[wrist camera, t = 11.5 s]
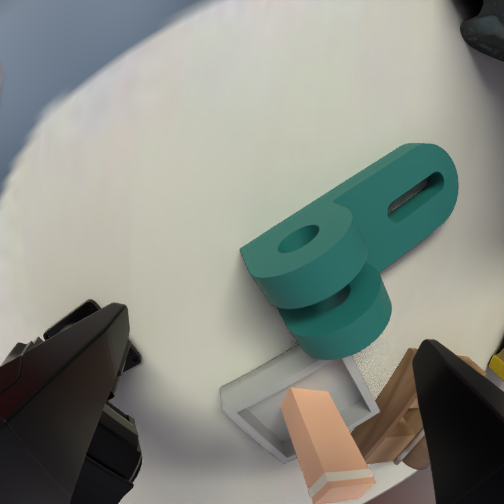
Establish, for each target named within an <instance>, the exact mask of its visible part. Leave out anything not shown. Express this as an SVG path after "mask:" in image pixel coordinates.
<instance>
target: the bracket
mask: <svg viewBox="0 0 504 504" xmlns="http://www.w3.org/2000/svg"><path fill="white" fill-rule="evenodd" d="M427 177H428V179H429V180H428V184H427V186H426V187H425V188H424V189H423V190H421V191H420V192H419V193H417V194H416V195H414V196H413V197H412V198H410V199H409V200H408V201H406V202H405V203H403V204H402V205H401V206H399V207H398V208H396V209H395V210H394V211H392V212H391V213H389V214H388V207H389V205H390V204H391V203H392V202H393V201H394V200H396V199H397V198H399V197H400V196H401V195H403V194H404V193H406V192H407V191H409V190H410V189H411V188H413V187H414V186H416V185H417V184H418V183H420V182H421V181H423V180H424V179H425V178H427ZM457 196H458V175H457V171H456V168H455V165H454V163H453V161H452V159H451V157H450V156H449V155H448V153H447V152H446V151H445V150H443V149H442V148H441V147H439V146H437V145H434V144H425V143H409V144H405V145H402V146H400V147H399V148H397V149H395V150H394V151H392V152H391V153H389V154H387V155H386V156H384V157H383V158H381V159H379V160H378V161H376V162H375V163H373V164H372V165H370V166H368V167H367V168H365V169H364V170H362V171H360V172H359V173H357V174H356V175H354V176H353V177H351V178H349V179H348V180H346V181H345V182H343V183H342V184H340V185H338V186H337V187H335V188H334V189H332V190H331V191H329V192H327V193H326V194H324V195H323V196H321V197H320V198H318V199H316V200H315V201H313V202H312V203H310V204H309V205H307V206H305V207H304V208H302V209H301V210H299V211H298V212H296V213H295V214H293V215H291V216H290V217H288V218H287V219H285V220H284V221H282V222H281V223H279V224H277V225H276V226H274V227H273V228H271V229H270V230H268V231H267V232H265V233H263V234H262V235H260V236H259V237H257V238H256V239H254V240H253V241H251V242H250V243H248V244H246V245H245V246H243V247H242V248H240V251H241V254H242V256H243V259H244V261H245V264H246V266H247V268H248V271H249V273H250V274H251V276H252V277H253V278H254V280H255V281H256V283H257V284H258V286H259V287H260V289H261V290H262V292H263V293H264V294H265V296H266V297H267V299H268V300H269V302H270V303H271V304H272V305H274V306H276V307H277V308H278V310H279V312H280V314H281V316H282V318H283V320H284V322H285V324H286V326H287V327H288V329H289V330H290V332H291V333H292V335H293V336H294V338H295V339H296V340H297V342H298V343H299V345H300V346H301V348H302V349H303V350H304V352H305V353H306V354H308V355H309V356H311V357H313V358H316V359H320V360H336V359H341V358H345V357H348V356H351V355H353V354H355V353H357V352H359V351H361V350H363V349H364V348H366V347H367V346H369V345H370V344H371V343H372V342H374V341H375V340H376V339H377V338H378V337H379V336H380V334H381V333H382V332H383V331H384V329H385V328H386V326H387V324H388V322H389V320H390V316H391V311H392V306H391V301H390V298H389V296H388V293H387V291H386V288H385V286H384V283H383V281H382V279H381V276H380V274H379V272H381V271H382V270H383V269H385V268H386V267H388V266H389V265H390V264H392V263H393V262H394V261H396V260H397V259H398V258H400V257H401V256H402V255H404V254H405V253H406V252H408V251H409V250H410V249H411V248H413V247H414V246H415V245H417V244H418V243H419V242H421V241H422V240H423V239H424V238H426V237H427V236H428V235H429V234H431V233H432V232H433V231H434V230H436V229H437V228H438V227H439V226H441V225H442V224H443V223H444V222H445V221H446V220H447V219H448V217H449V216H450V215H451V213H452V211H453V209H454V207H455V204H456V201H457Z"/></svg>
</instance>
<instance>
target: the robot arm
mask: <svg viewBox="0 0 504 504" xmlns="http://www.w3.org/2000/svg"><path fill="white" fill-rule="evenodd" d="M88 305H91V306H92V307H93V308H90V307H89V306H88ZM129 331H130V326H129V317H128V308H127V306H126V305H125V304H120V303H111V304H109V305H107V306H106V307H104V308H102V309H101V308H100V307H99V306H98V305H97V303H96V302H95V301H94V300H90V299H89V300H87V301H86V302H84V303H83V304H81V305H80V306H79V307H77V308H76V309H75V310H73V311H72V312H70V313H69V314H68V315H66V316H65V317H64V318H62V319H61V320H60V321H58V322H57V323H56V324H54V325H53V326H52V327H50V328H49V329H48V330H46V332H45V333H44V335H43V337H44V339H45V340H46V341H44V342H43V341H42V339H41V338H40V337H38V338H37V339H36V340H35V341H34V342H32V341H31V342H30V343H29V344H23V343H19V342H18V343H17V344H16V346H15V347H14V348H13V349H12V351H11V352H10V353H9V355H8V356H7V357H6V359H5V360H4V361H3V363H2V364H1V366H0V504H118V503H119V502H120V500H121V499H122V498H123V496H125V495H126V494H127V493H128V492H129V491H130V490H131V489H132V488H133V486H134V484H133V481H134V480H135V478H136V477H137V475H138V473H139V471H140V468H141V464H142V453H141V449H140V444H139V440H138V433H137V430H136V426H135V421H134V419H133V418H132V417H130V416H129V415H125V414H124V413H123V412H121V411H120V410H119V409H117V408H116V407H115V406H113V405H112V404H111V403H110V400H111V399H112V398H113V397H114V395H115V392H116V388H117V385H118V381H119V378H120V376H121V375H122V373H123V372H125V371H126V370H128V369H130V368H132V367H134V366H136V365H137V364H139V363H140V362H141V359H142V356H141V354H140V353H139V352H138V351H137V350H136V349H135V348H134V347H133V346H132V344H131V342H130V341H129V339H128V336H129ZM48 335H49V336H50V337H51V338H50V337H48ZM133 357H136V358H138V359H134V358H133ZM412 368H413V374H414V380H415V386H416V393H417V400H418V406H419V411H420V415H421V420H422V424H423V429H424V433H425V438H426V443H427V449H428V454H429V459H430V465H431V471H432V477H433V484H434V491H435V499H436V504H504V392H503V391H502V390H501V389H499V388H498V387H497V386H496V385H494V384H493V383H492V382H490V381H489V380H488V379H487V378H485V377H484V376H483V375H481V374H480V373H479V372H478V371H476V370H475V369H474V368H472V367H471V366H470V365H468V364H467V363H466V362H465V361H463V360H462V359H461V358H459V357H458V356H457V355H455V354H454V353H453V352H451V351H450V350H449V349H447V348H446V347H445V346H443V345H442V344H441V343H439V342H438V341H437V340H433V339H426V340H424V341H423V342H422V343H421V345H420V347H419V349H418V350H417V352H416V354H415V356H414V357H413V360H412Z"/></svg>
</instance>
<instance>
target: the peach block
mask: <svg viewBox="0 0 504 504" xmlns="http://www.w3.org/2000/svg"><path fill="white" fill-rule="evenodd" d="M280 407H281V410H282V413H283V416H284V419H285V422H286V425H287V428H288V431H289V434H290V437H291V440H292V443H293V446H294V449H295V452H296V455H297V458H298V461H299V464H300V467H301V469H302V472H303V475H304V478H305V481H306V484H307V487H308V492H309V495H310V498H312V501H313V504H324V503H332V502H340V501H347V500H354V499H359V498H360V497H361V496H362V495H363V494H364V493H365V492H366V491H367V490H368V489H370V488H371V487H372V486H373V485H374V484H375V483H376V481H375V479H374V477H373V476H374V475H373V473H372V471H371V470H370V469H369V468H368V466H367V464H366V462H365V460H364V458H363V456H362V455H361V453H360V451H359V449H358V447H357V445H356V443H355V441H354V439H353V438H352V436H351V434H350V432H349V430H348V428H347V426H346V424H345V422H344V421H343V419H342V417H341V415H340V413H339V411H338V409H337V407H336V405H335V404H334V402H333V400H332V398H331V396H330V394H329V392H326V391H316V390H308V389H300V388H292V387H290V389H289V391H288V393H287V394H286V396H285V398H284V400H283V401H282V403H281V405H280Z"/></svg>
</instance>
